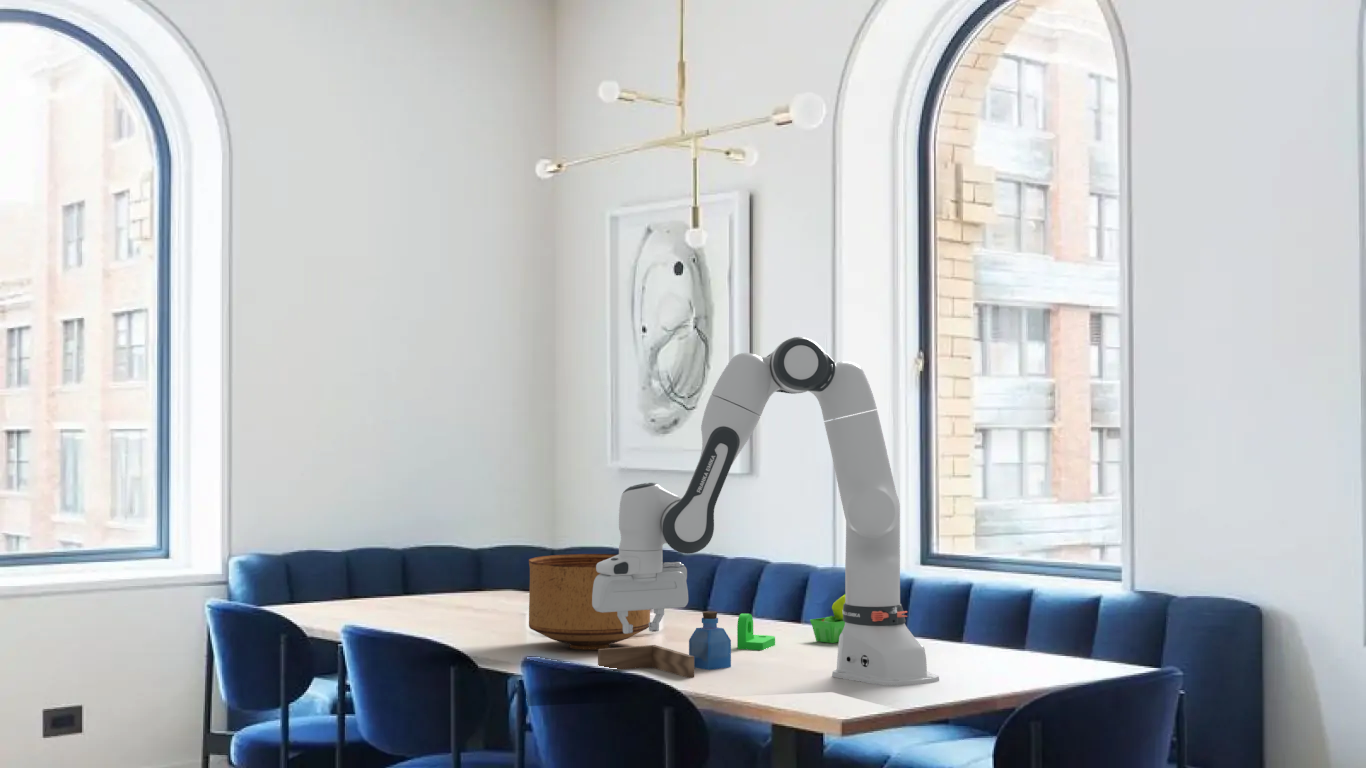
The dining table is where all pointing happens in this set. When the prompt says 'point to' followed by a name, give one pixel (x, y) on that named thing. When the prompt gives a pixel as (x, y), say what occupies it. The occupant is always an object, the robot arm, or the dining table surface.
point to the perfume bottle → (710, 644)
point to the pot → (574, 603)
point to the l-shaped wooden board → (647, 659)
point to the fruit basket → (830, 624)
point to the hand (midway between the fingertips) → (640, 632)
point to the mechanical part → (751, 635)
